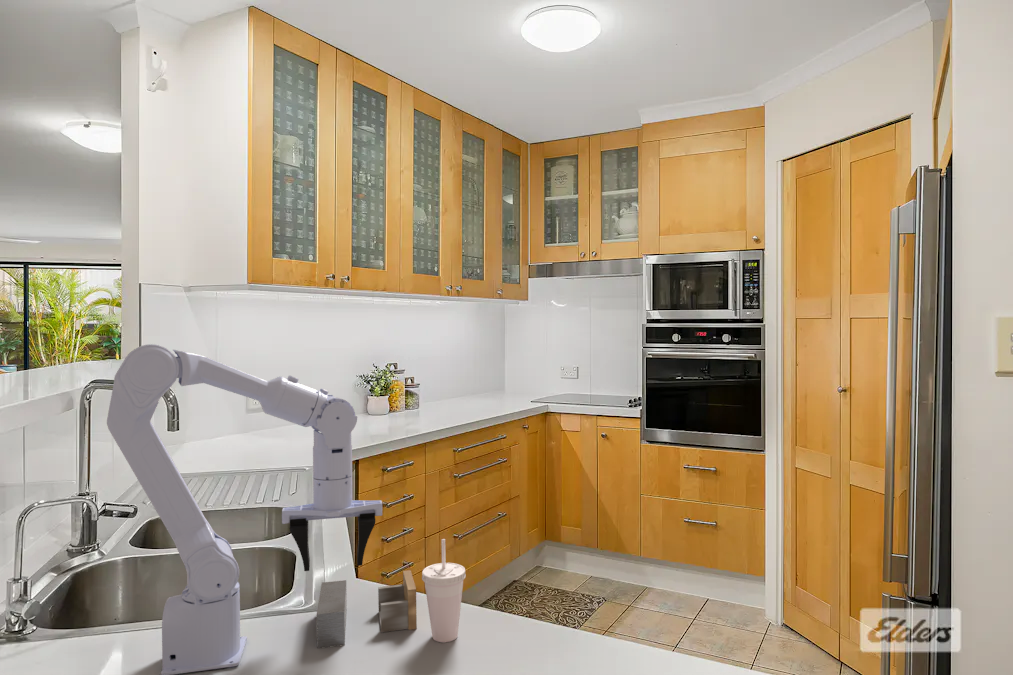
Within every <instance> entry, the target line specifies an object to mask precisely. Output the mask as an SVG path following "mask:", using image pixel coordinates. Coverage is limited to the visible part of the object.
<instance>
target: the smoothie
mask: <svg viewBox="0 0 1013 675" xmlns="http://www.w3.org/2000/svg"><path fill="white" fill-rule="evenodd" d="M446 555H447V554H446V539H445V538H442V539H441V562H440V563H439V562H438V563H433V564H431V565H428V566H426V567H424V568H423V569H422V572H421V580H422V581H423V582H424V589H425V594H426V599H427V600H426V601H427V609H428V614H429V615H428V616H429V622H430V628H431V635H432V639H433V640H434V642H438V643H450V642H453V641H455V640H456V639H457V638H458V635H459V627H460V618H461V609H462V608H461V607H462V596H463V588H464V580H465V579H466V576H467V575H466V568H465V566H463V565H461V564H459V563H456V562H455V563H454V562H446V561H447V560H446V559H447V558H446Z"/></svg>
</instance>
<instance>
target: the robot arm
mask: <svg viewBox="0 0 1013 675" xmlns="http://www.w3.org/2000/svg"><path fill="white" fill-rule="evenodd" d="M172 351H173V352H174V353H173V352H172ZM172 351H171V350H169V349H168V348H167V347H164V346H162V345H159V344H155V343H154V344H153V343H152V344H151V343H150V344H144V345H140V346H138V347H136V348H134V349H133V350H132V351H130V352H129V353H128V354H127V356H126V357H125V358H124V360H123V362H122V363H121V365H120V366H119V368H118V369H117V372H115V375H114V377H113V378H114V379H113V386H112V390H111V396H110V401H109V408H108V413H107V419H106V426H107V428H108V431H109V433H110V434H111V436H112V437H113V439H114V441H115V443H116V445H117V446H118V448H119V450H120V452H121V453H122V455H123V457H124V459H125V461H127V463H128V465H129V467H130V469H131V471H133V474H134V475H135V477H136V479H137V481H138V482H139V484H140V485H141V487H142V489H143V491H144V493H145V495H146V496H147V498H148V499H149V502H150V503H151V505H152V506H153V508H154V510H155V512H156V513H157V515H158V516H159V518H160V520H161V521H162V523H163V525H164V527H165V529H166V531H167V532H168V534H169V535H170V537H171V539H172V540H173V543H174V545H175V547H176V550H177V552H178V554H179V557H180V559H181V561H182V563H183V564H184V568H185V570H186V576H187V577H186V578H187V579H186V585H185V588H184V589H183V590H182V592H181V594H178V595H172V596H169V597H167V599H166V601H165V604H164V607H163V612H162V617H161V618H162V621H161V650H162V652H161V656H162V657H161V658H162V661H161V663H162V670H161V672H160V674H161V675H178V674H179V675H180V674H187V673H195V672H201V671H209V670H216V669H217V670H218V669H223V668H225V669H226V668H231V667H237V666H239V665H240V663H241V660H242V657H243V653H244V650H245V647H246V644H247V641H248V636H246V635H245V636H244V635H243V636H241V602H240V601H241V597H240V596H241V593H240V592H241V591H240V582H239V579H240V571H241V570H240V567H239V564H238V562H237V560H236V558H235V557H234V554H233V549H232V545H231V544H230V542H228V540H227V539H226V538H223V537H222V536H220V535H219V534H218V533H216V531H215V530H214V529H213V527H212V526H211V524H210V523H209V521H208V520H207V518H206V517H205V514H204V513H203V511H202V510H201V508H200V507H199V504H198V502H197V500H196V499H195V497H194V495H193V494H192V492H191V490H190V488H189V487H188V485H187V483H186V481H185V479H184V478H183V476H182V474H181V473H180V471H179V469H178V466H176V464H175V462H174V461H173V459H172V456H171V455H170V453H169V451H168V450H167V448H166V446H165V445H164V442H163V441H162V438H160V436H159V433H158V432H157V430H156V428H155V426H154V425H153V423H152V421H151V420H152V418H153V416H154V414H155V412H156V409H157V407H158V404H159V401H160V399H161V398H162V397H163V396H164V395H165V394H166V393H167V392H168V390H169V389H170V388H171V387H172V386H173V385H174V383H175V382H176V381H177V379H178V384H179V385H180V386H181V387H186V386H193V385H199V384H204V385H205V384H206V385H209V386H212V387H215V388H217V389H218V388H219V389H220V390H224V391H227V392H230V393H233V394H236V395H240V396H243V397H245V398H249V399H252V400H256V401H258V402H259V404H260V406H261V408H262V411H263V413H265V414H266V415H269V416H272V417H274V418H277V419H281V420H284V421H286V422H289V423H292V424H294V425H297V426H301V427H304V428H308V427H310V428H312V429H313V446H312V492H313V493H312V494H313V496H312V498H313V499H312V500H313V501H312V503H308V504H307V503H306V504H300V505H295V506H294V505H293V506H287V507H282V509H281V524H282V525H285V524H289V531H290V533H291V536H292V538H293V539H294V541H295V543H296V545H297V547H298V551H299V553H300V555H301V560H302V564H303V571H304V572H310V568H311V567H310V566H311V559H310V558H311V556H310V548H309V547H310V546H309V521H317V520H329V519H341V518H342V519H343V518H354V517H357V538H358V539H357V549H356V550H357V551H356V562H357V563H356V564H357V567H359V566H363V562H364V561H363V560H364V555H365V551H366V549H367V548H366V547H367V544H368V541H369V539H370V536H371V534H372V531H373V529H374V527H375V524H376V517H380V516H383V501H382V500H380V499H377V500H359V499H357V500H353V445H352V431H353V430H354V429H355V427H356V425H357V422H358V416H357V415H356V412H355V409H354V406H352V405H351V403H350V402H349V401H347V400H345V399H343V398H340V397H336V396H334V395H333V394H329V391H328V389H324V388H320V389H315V388H313V387H310V386H308V385H305V384H302V383H299V378H298V377H295V376H293V375H288V376H287V377H285V376H283V375H282V376H281V375H280V376H276V377H275V378H273V379H270V380H266V379H263V378H260V377H258V376H255V375H253V374H250V373H247V372H246V371H242V370H240V369H238V368H235V367H233V366H230V365H227V364H225V363H223V362H221V361H217V360H215V359H212V358H210V357H208V356H205V355H202V354H197V353H193V352H187V351H184V350H183V351H182V350H179V349H177V350H176V349H172ZM175 355H176V356H175Z"/></svg>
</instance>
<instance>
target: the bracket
mask: <svg viewBox="0 0 1013 675" xmlns="http://www.w3.org/2000/svg"><path fill="white" fill-rule="evenodd" d="M402 580H403V581H402V583H401V584H394V585H385V586H378V587H377V588H378V590H377V591H378V593H377V595H378V596H377V599H378V601H377V602H378V603H377V604H378V616H379V617H378V618H379V624H380V631H381V633H388V632H393V631H394V632H395V631H402V630H408V631H412V630H417V629H418V628H417V621H418V620H417V587H416V583H415V581H414V577H413V574H412V570H410V569H409V570H408V569H407V570H402Z"/></svg>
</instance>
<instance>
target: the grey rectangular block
mask: <svg viewBox="0 0 1013 675" xmlns="http://www.w3.org/2000/svg"><path fill="white" fill-rule="evenodd" d="M347 598H348V597H347V579H346V580H335V581H334V580H333V581H325V582H321V586H320V592H319V598H318V604H317V608H316V609H317V610H316V649H323V648H322V647H325V648H331V647H330V646H334V647H340V645H342V646H345V645H346V644H345V643H346V630H347V628H346V626H347V611H348V608H347V605H348V602H347V601H348V600H347Z"/></svg>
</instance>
